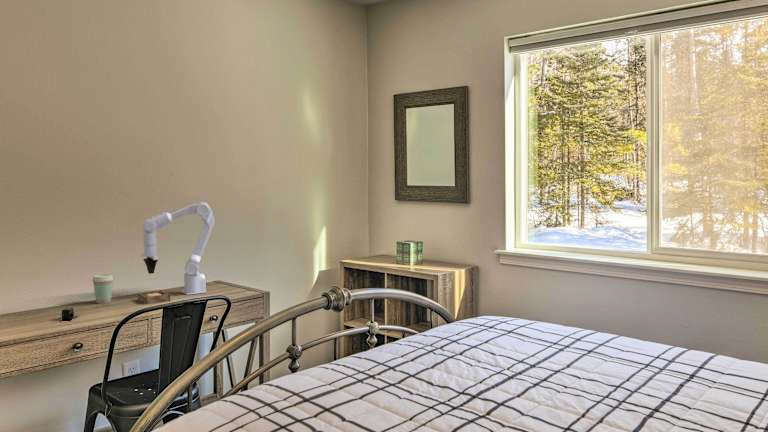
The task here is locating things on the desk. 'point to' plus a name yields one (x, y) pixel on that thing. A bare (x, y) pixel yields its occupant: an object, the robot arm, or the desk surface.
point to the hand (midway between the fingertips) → (151, 273)
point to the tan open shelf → (154, 298)
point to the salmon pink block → (153, 294)
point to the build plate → (67, 314)
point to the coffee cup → (103, 288)
